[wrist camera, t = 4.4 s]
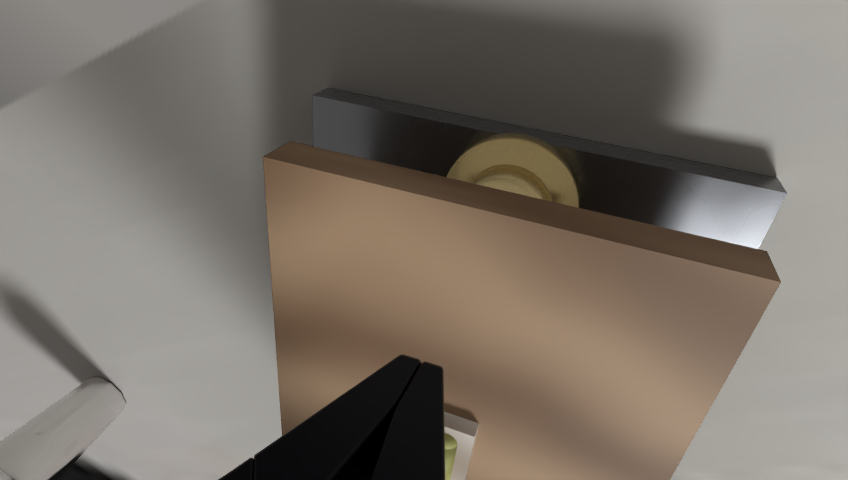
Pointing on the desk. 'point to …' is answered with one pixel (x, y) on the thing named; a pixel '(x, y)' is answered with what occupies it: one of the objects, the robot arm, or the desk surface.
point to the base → (551, 166)
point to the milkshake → (60, 432)
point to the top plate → (505, 315)
